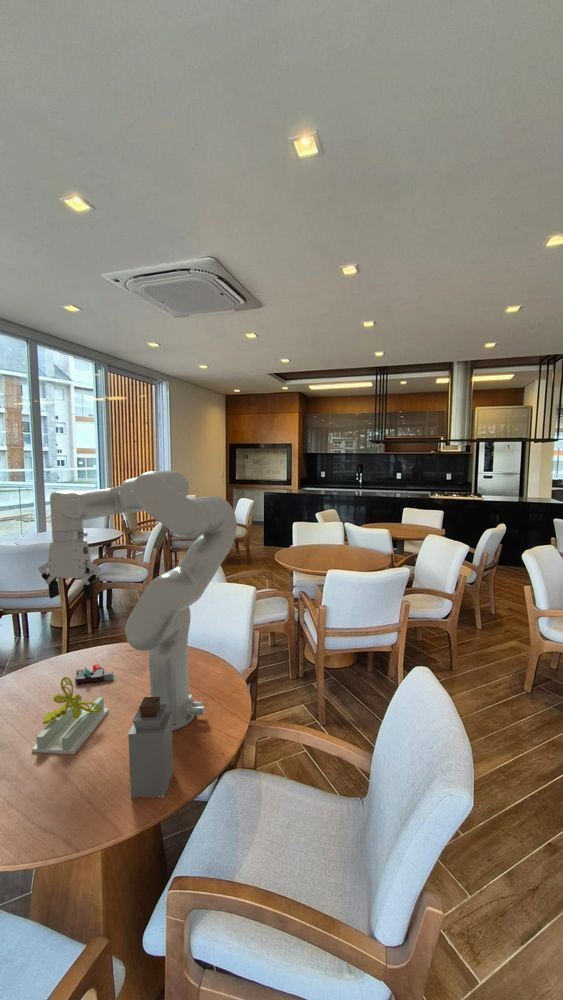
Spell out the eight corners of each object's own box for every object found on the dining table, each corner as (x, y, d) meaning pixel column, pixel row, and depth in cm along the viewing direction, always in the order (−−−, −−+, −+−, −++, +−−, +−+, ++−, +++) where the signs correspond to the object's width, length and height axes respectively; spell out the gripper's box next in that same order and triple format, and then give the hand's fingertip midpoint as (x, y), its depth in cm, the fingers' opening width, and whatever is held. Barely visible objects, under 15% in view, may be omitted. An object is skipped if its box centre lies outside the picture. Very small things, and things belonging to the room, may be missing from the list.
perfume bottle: (173, 771, 89) (170, 691, 87) (165, 797, 82) (162, 711, 80) (141, 772, 89) (138, 692, 87) (130, 798, 82) (127, 712, 80)
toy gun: (115, 682, 124) (115, 667, 124) (71, 688, 121) (71, 672, 121) (119, 667, 134) (119, 652, 133) (79, 671, 130) (78, 657, 130)
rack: (108, 711, 110) (108, 697, 109) (74, 754, 94) (73, 738, 93) (72, 709, 110) (71, 696, 110) (32, 751, 95) (31, 736, 94)
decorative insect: (68, 733, 103) (102, 706, 105) (66, 743, 100) (101, 714, 102) (30, 701, 99) (66, 673, 100) (26, 710, 96) (64, 681, 97)
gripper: (105, 533, 116) (108, 593, 118) (46, 533, 117) (49, 591, 119) (91, 539, 109) (94, 602, 110) (28, 538, 110) (32, 601, 112)
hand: (71, 597), depth 115 cm, fingers open, 9 cm apart
